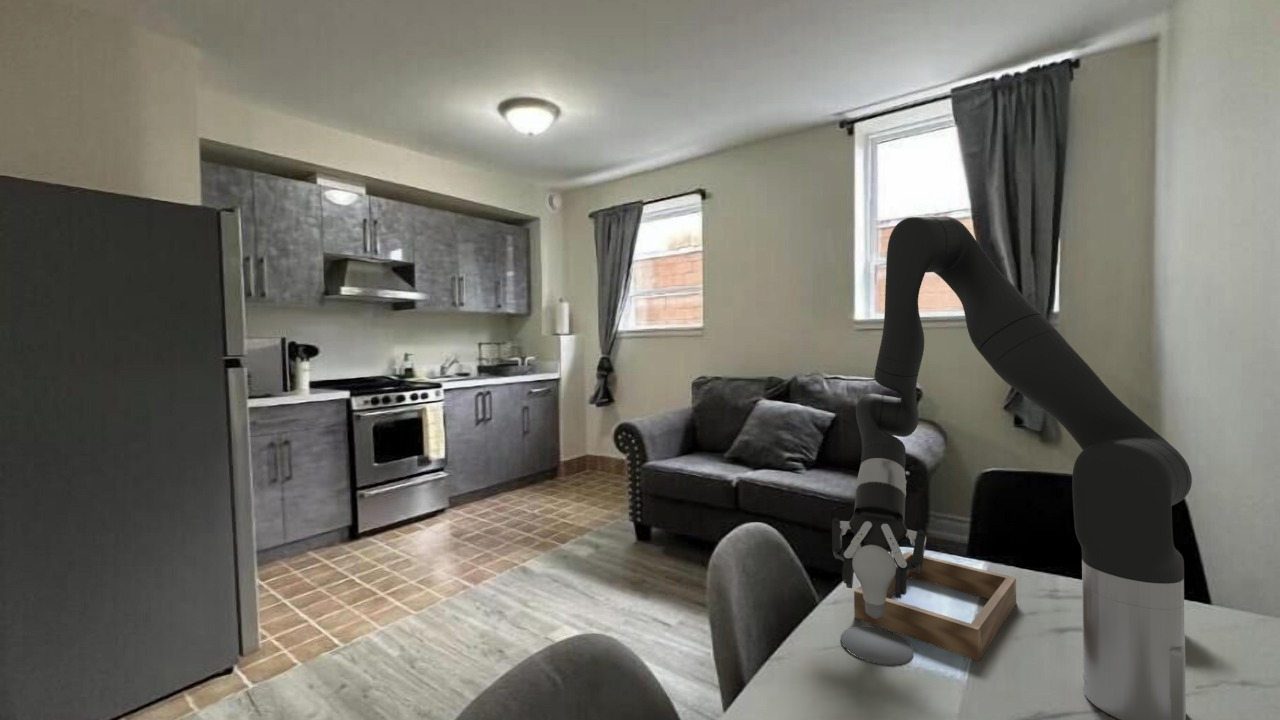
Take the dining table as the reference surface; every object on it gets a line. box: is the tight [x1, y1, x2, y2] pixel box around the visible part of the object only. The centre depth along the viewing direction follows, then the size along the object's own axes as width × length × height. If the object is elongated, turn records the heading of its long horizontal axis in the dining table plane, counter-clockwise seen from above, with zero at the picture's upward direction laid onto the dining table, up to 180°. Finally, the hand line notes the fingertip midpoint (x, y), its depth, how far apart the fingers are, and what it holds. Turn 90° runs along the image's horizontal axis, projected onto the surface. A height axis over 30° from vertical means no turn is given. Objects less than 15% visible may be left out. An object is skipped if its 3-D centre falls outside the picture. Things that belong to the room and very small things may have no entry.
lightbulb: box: [852, 545, 896, 619], centre depth 80 cm, size 6×6×11 cm
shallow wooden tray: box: [853, 551, 1017, 662], centre depth 90 cm, size 18×24×4 cm
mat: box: [840, 625, 914, 666], centre depth 80 cm, size 10×10×1 cm
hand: (873, 590), depth 79 cm, fingers closed on lightbulb, 6 cm apart
